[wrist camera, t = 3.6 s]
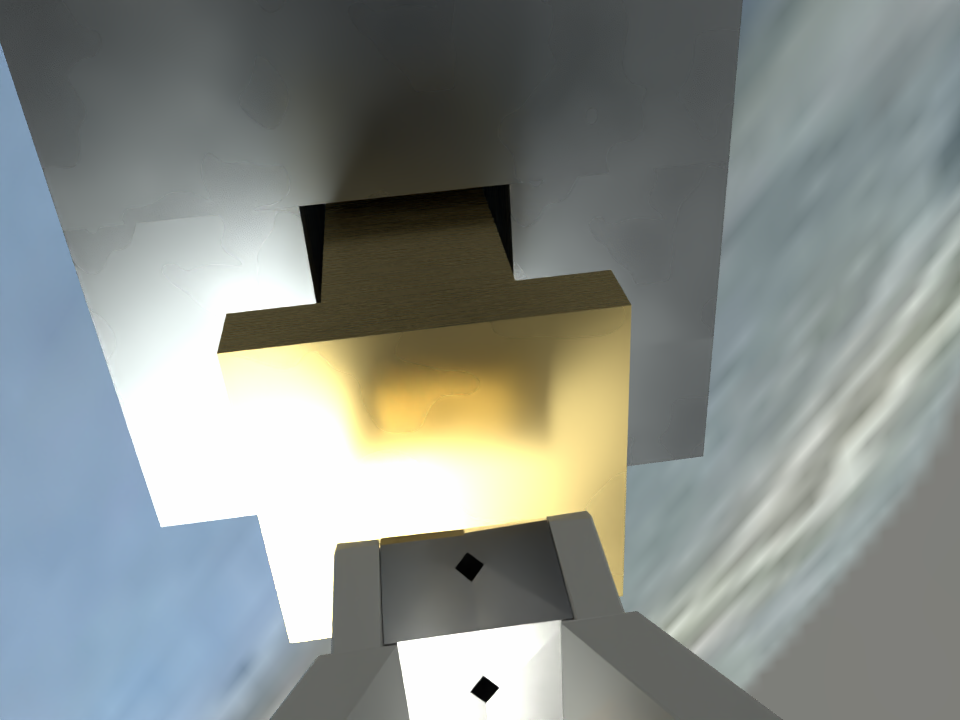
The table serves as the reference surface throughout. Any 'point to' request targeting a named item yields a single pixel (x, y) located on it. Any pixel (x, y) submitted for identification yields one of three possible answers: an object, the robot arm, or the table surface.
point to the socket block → (371, 177)
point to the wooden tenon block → (426, 394)
